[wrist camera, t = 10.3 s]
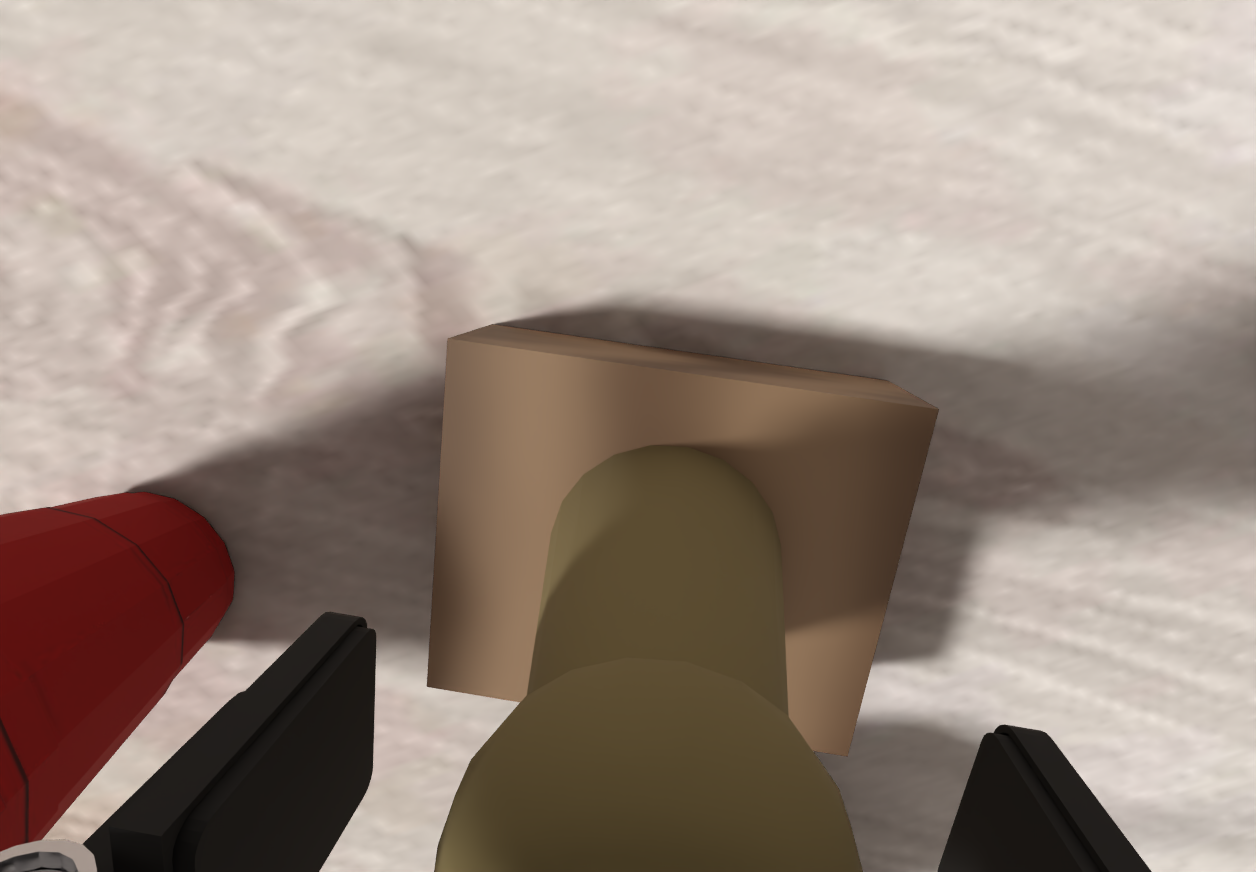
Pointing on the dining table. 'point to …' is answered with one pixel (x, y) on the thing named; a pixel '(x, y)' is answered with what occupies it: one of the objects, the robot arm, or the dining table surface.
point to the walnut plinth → (686, 417)
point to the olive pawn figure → (654, 695)
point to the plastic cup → (93, 638)
